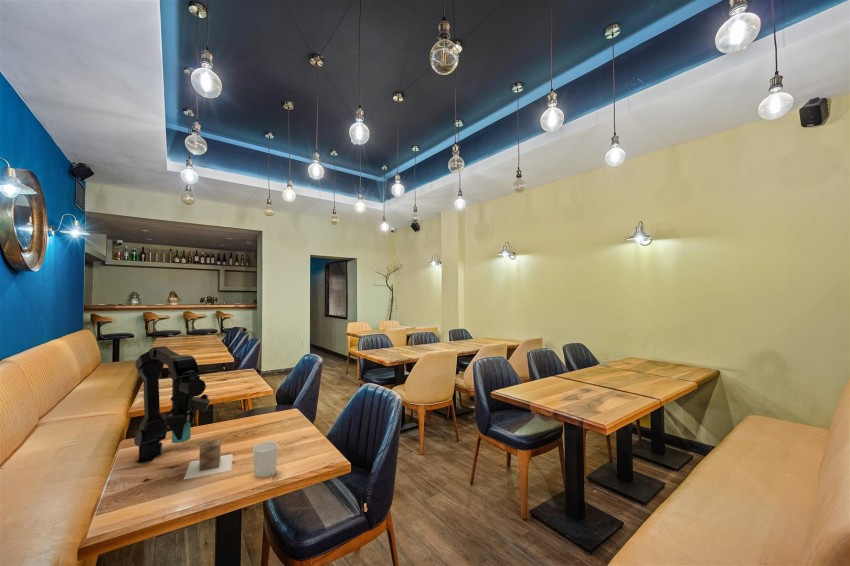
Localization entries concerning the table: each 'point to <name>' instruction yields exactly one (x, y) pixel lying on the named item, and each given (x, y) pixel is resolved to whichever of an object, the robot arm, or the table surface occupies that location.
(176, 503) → the table surface
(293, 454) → the table surface
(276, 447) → the white cup
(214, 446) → the tower top
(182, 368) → the robot arm
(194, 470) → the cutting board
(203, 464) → the block
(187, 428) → the teal cylinder
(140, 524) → the table surface
